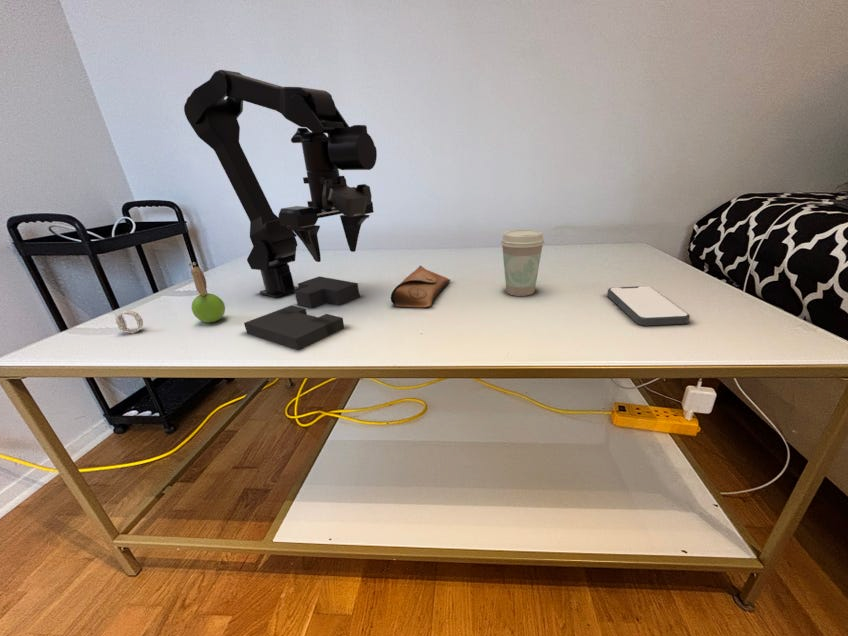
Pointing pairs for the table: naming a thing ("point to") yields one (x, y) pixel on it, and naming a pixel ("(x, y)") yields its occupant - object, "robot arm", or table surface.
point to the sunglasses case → (418, 289)
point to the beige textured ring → (122, 324)
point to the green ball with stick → (205, 299)
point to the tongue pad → (325, 292)
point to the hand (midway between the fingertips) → (336, 256)
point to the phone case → (647, 306)
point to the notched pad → (294, 327)
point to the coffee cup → (521, 260)
